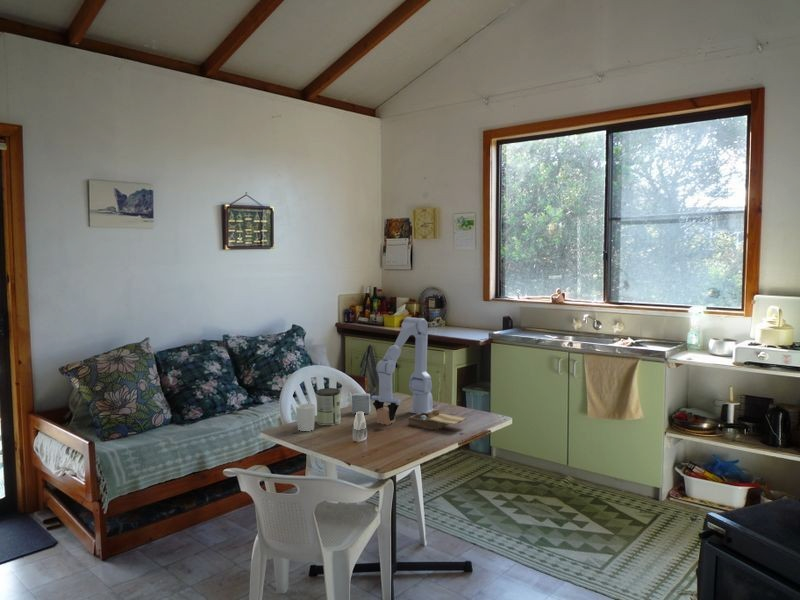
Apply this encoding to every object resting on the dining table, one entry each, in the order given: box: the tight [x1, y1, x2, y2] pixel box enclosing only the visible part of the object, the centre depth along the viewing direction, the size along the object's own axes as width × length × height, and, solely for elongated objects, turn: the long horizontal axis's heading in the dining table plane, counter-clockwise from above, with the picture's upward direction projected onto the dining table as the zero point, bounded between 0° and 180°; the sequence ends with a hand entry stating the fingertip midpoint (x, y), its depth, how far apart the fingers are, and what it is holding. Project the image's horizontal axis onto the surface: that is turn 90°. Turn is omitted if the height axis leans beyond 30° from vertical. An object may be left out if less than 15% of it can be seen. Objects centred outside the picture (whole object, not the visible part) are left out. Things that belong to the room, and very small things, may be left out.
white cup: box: [295, 403, 316, 432], centre depth 257 cm, size 8×8×10 cm
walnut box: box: [408, 412, 449, 431], centre depth 263 cm, size 10×14×3 cm
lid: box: [425, 408, 467, 426], centre depth 257 cm, size 10×14×3 cm
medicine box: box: [351, 392, 372, 415], centre depth 282 cm, size 8×4×9 cm, turn 84°
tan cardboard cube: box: [376, 406, 396, 426], centre depth 266 cm, size 6×6×6 cm
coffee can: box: [315, 387, 342, 426], centre depth 267 cm, size 10×10×14 cm
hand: (386, 418), depth 266 cm, fingers closed on tan cardboard cube, 6 cm apart
